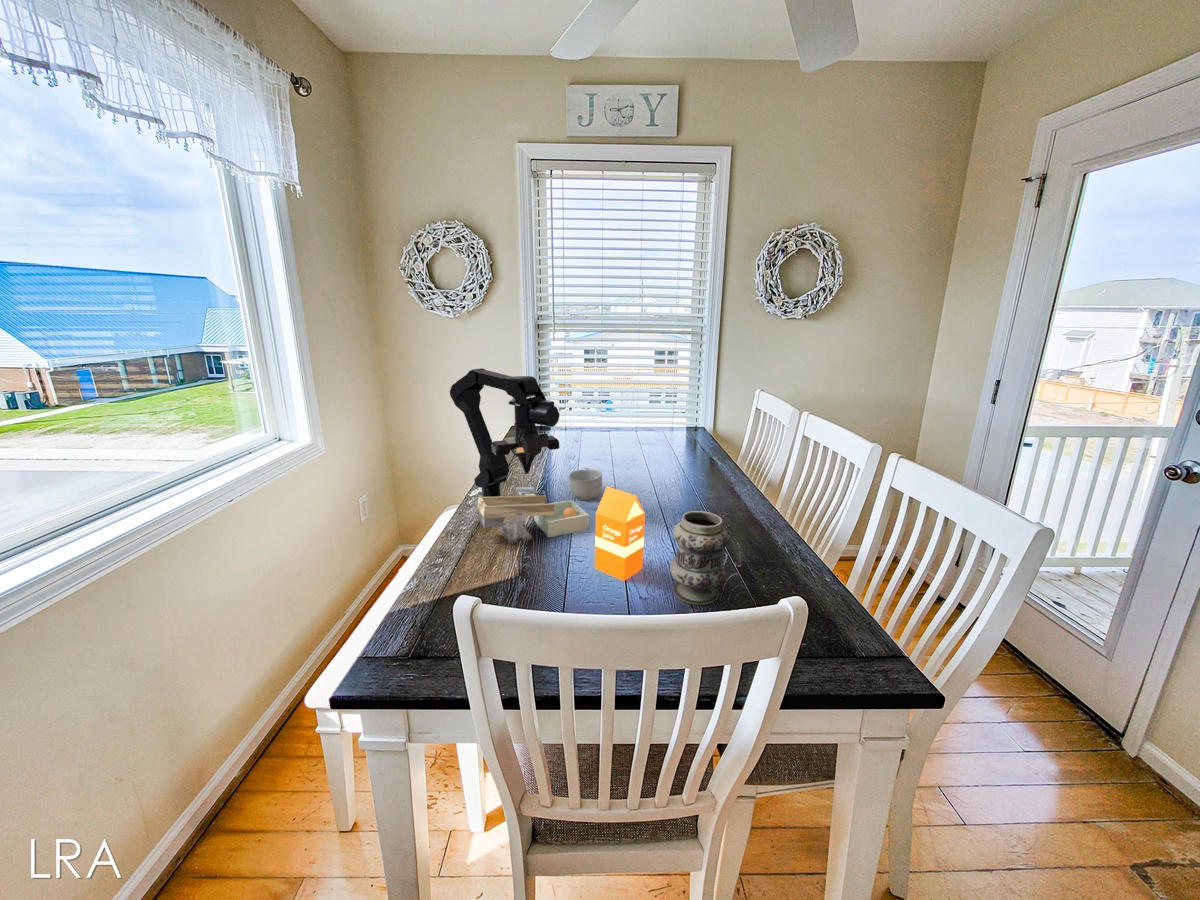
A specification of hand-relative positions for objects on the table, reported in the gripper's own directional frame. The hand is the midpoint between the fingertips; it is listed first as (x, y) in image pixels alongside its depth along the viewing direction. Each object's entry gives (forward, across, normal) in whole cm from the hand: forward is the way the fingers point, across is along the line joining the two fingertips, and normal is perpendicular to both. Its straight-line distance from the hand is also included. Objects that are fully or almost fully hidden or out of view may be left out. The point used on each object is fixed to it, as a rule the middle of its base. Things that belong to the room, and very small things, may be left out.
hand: (526, 473), depth 145 cm
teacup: (+13, +22, +7) cm, 27 cm away
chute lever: (+9, -7, -6) cm, 13 cm away
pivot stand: (+13, -7, -11) cm, 18 cm away
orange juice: (+13, +10, -39) cm, 42 cm away
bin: (+13, +6, -11) cm, 18 cm away
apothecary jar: (+13, +21, -55) cm, 60 cm away
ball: (+10, +9, -11) cm, 17 cm away
